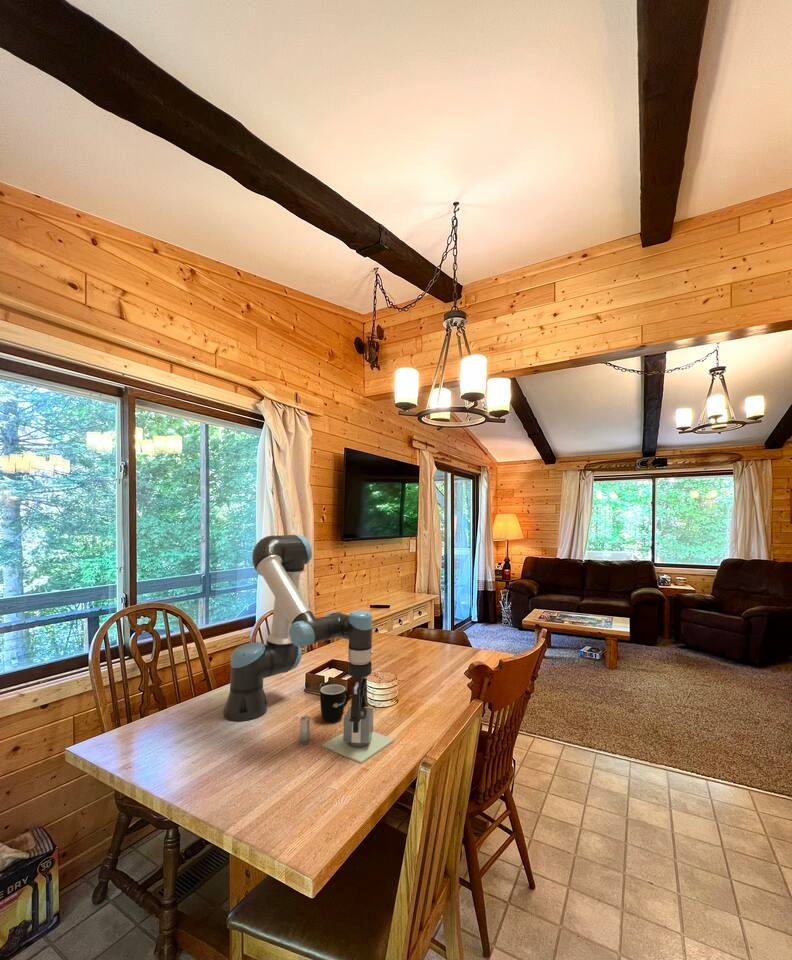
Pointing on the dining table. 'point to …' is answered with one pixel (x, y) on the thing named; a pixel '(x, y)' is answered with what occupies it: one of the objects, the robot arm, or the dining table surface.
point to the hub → (359, 746)
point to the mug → (333, 702)
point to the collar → (365, 725)
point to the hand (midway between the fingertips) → (358, 735)
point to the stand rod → (305, 730)
